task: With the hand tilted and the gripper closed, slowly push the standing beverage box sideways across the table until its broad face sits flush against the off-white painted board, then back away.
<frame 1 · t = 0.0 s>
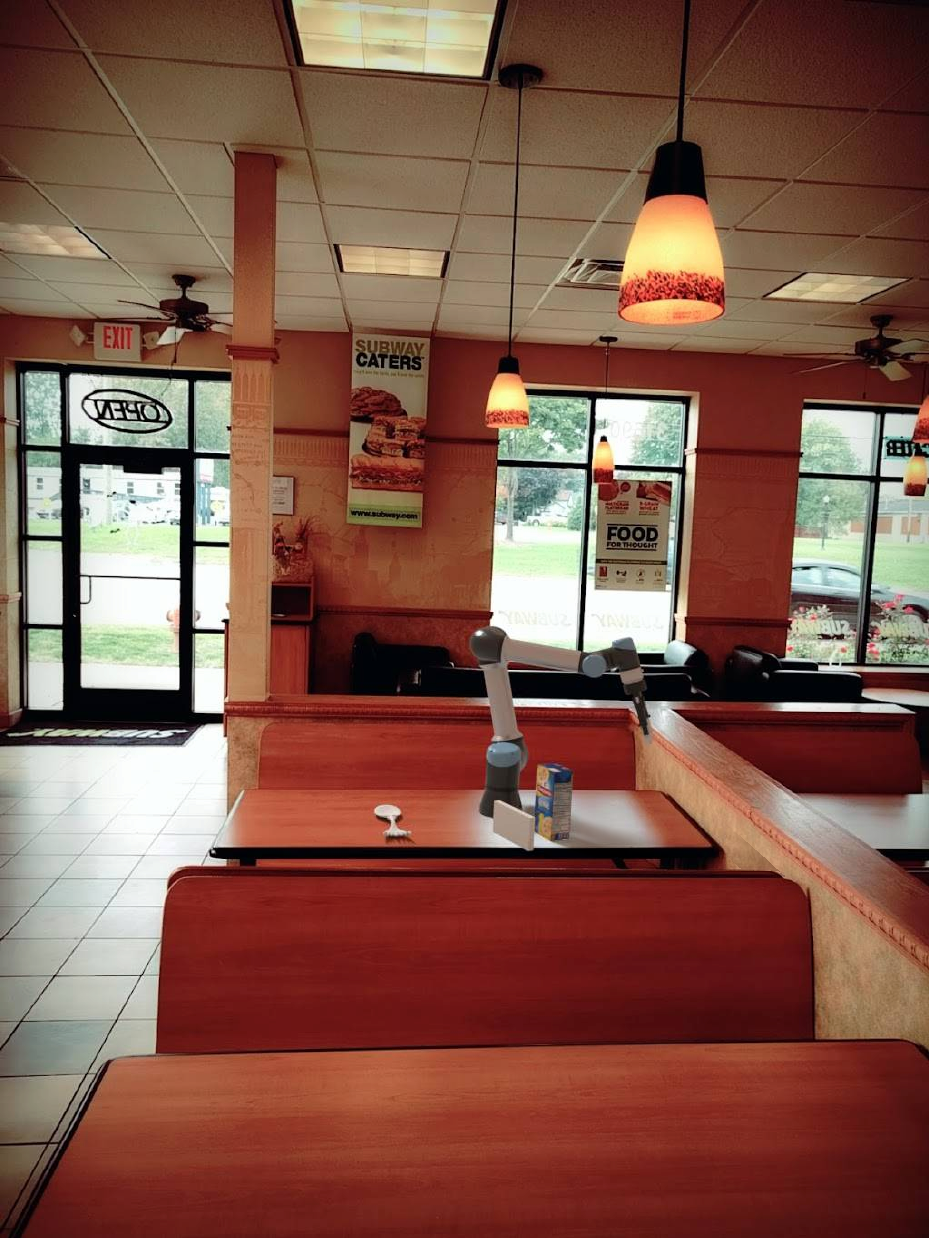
hand: (649, 740, 291), 28 cm above the table, tool tilted 20°, fingers open, 13 cm apart
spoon: (391, 826, 270), on the table
beverage box: (551, 835, 269), on the table
board: (512, 840, 261), on the table
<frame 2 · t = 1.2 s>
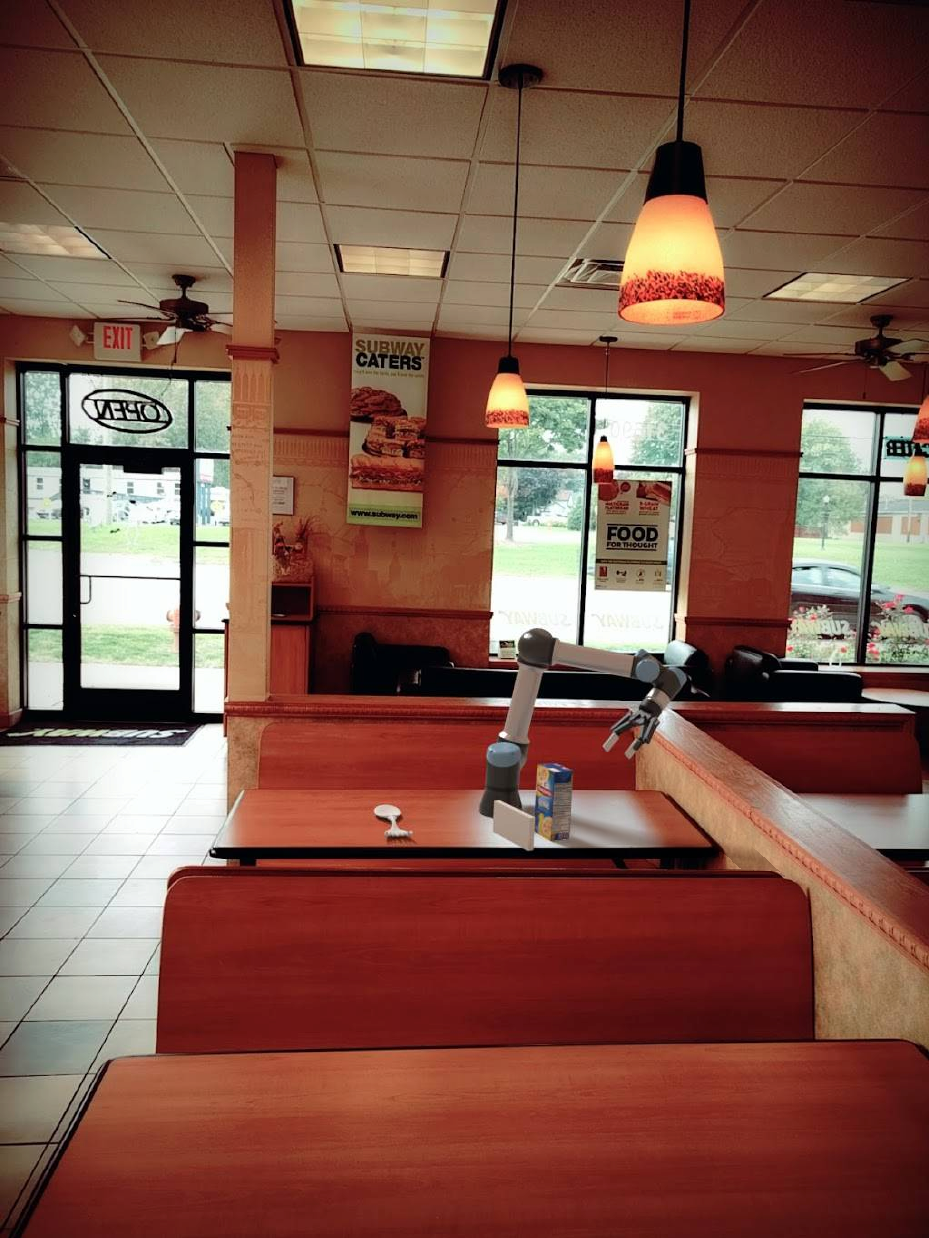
hand: (615, 752, 280), 25 cm above the table, tool tilted 45°, fingers open, 10 cm apart
nothing on the table moved.
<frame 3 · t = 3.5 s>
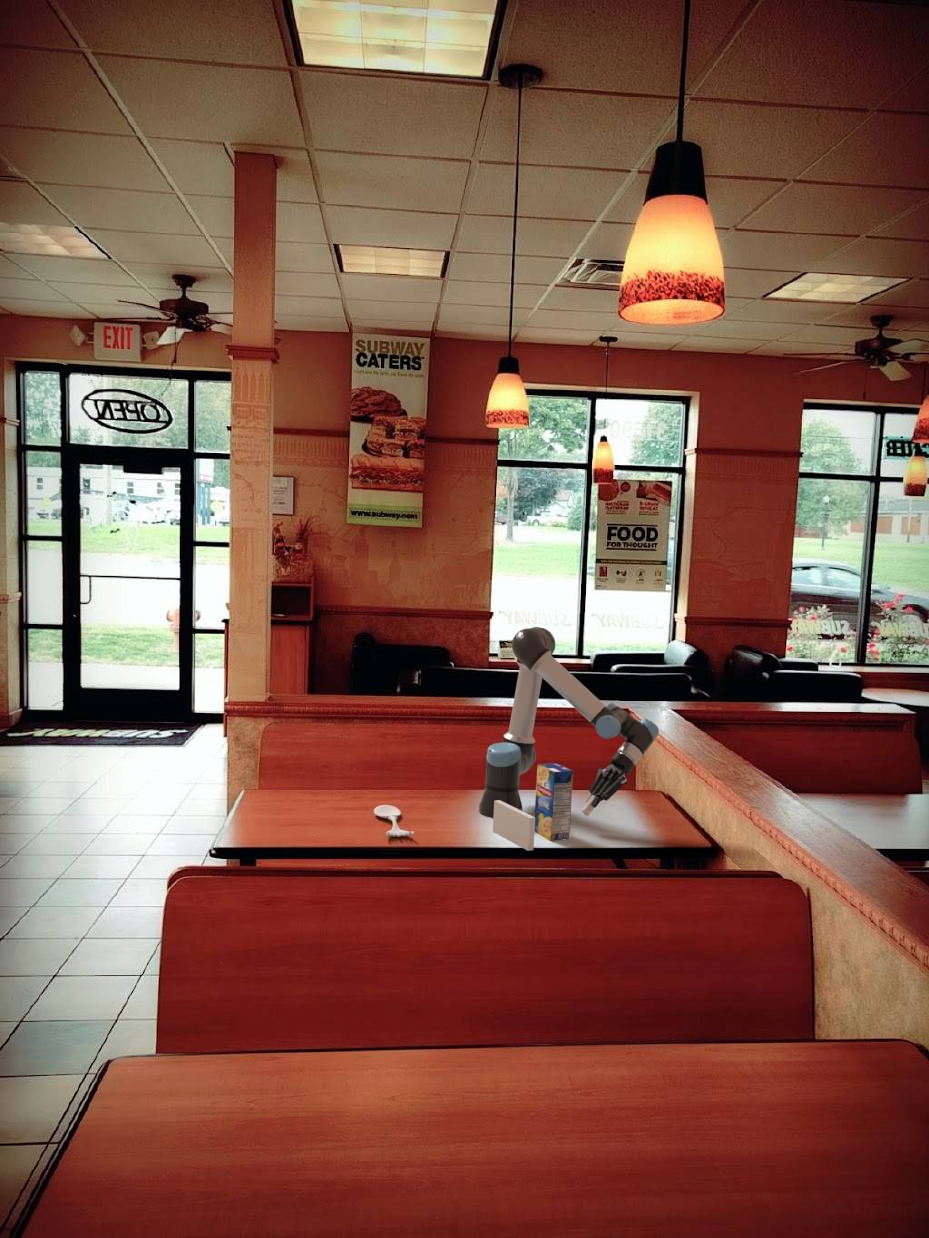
hand: (584, 812, 274), 6 cm above the table, tool tilted 45°, fingers closed
nothing on the table moved.
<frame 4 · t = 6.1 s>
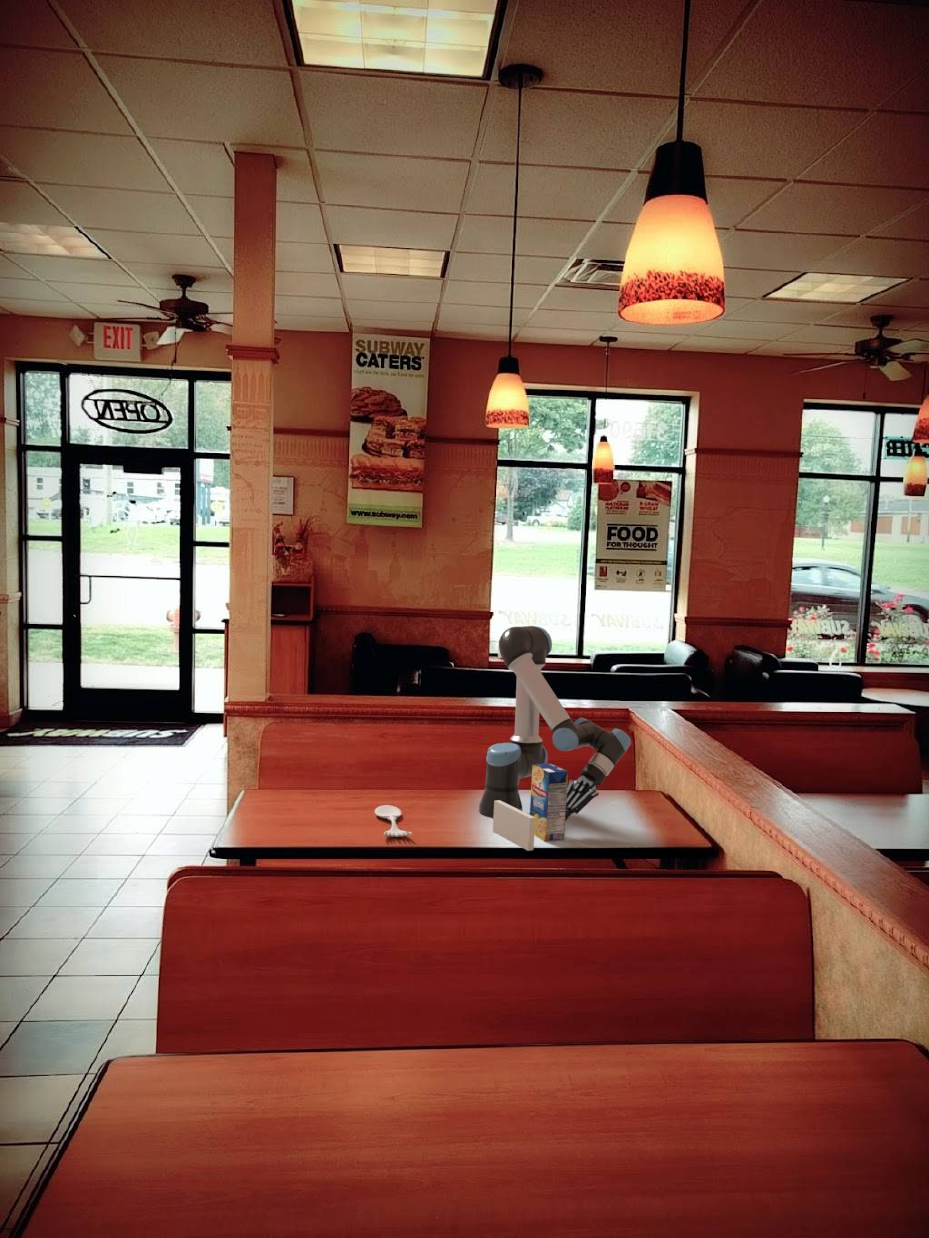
hand: (554, 826, 268), 3 cm above the table, tool tilted 45°, fingers closed
beverage box: (546, 836, 268), on the table, touching gripper
everything else where it was.
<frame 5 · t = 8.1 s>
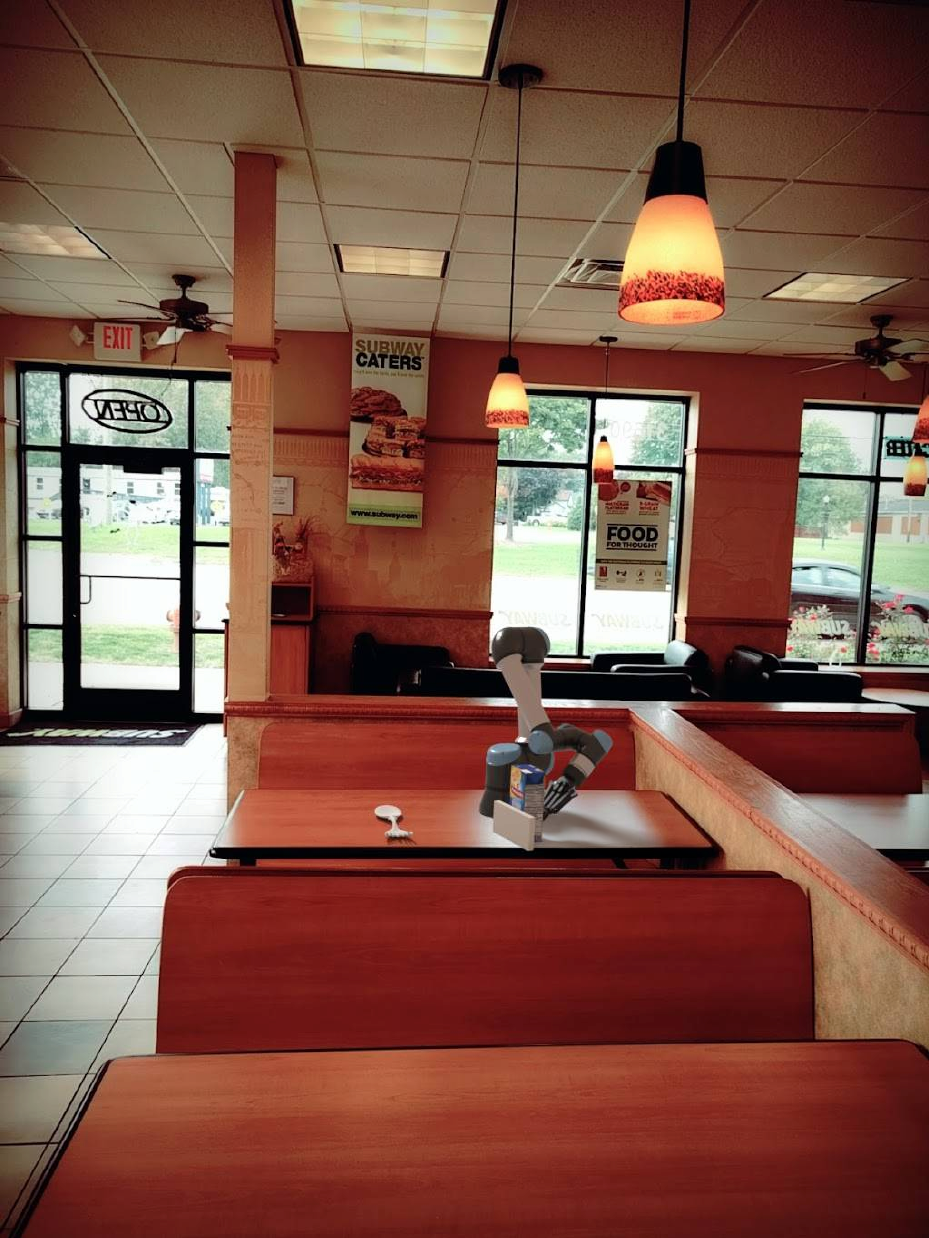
hand: (532, 826, 265), 4 cm above the table, tool tilted 45°, fingers closed
beverage box: (524, 837, 265), on the table, touching gripper
everything else where it was.
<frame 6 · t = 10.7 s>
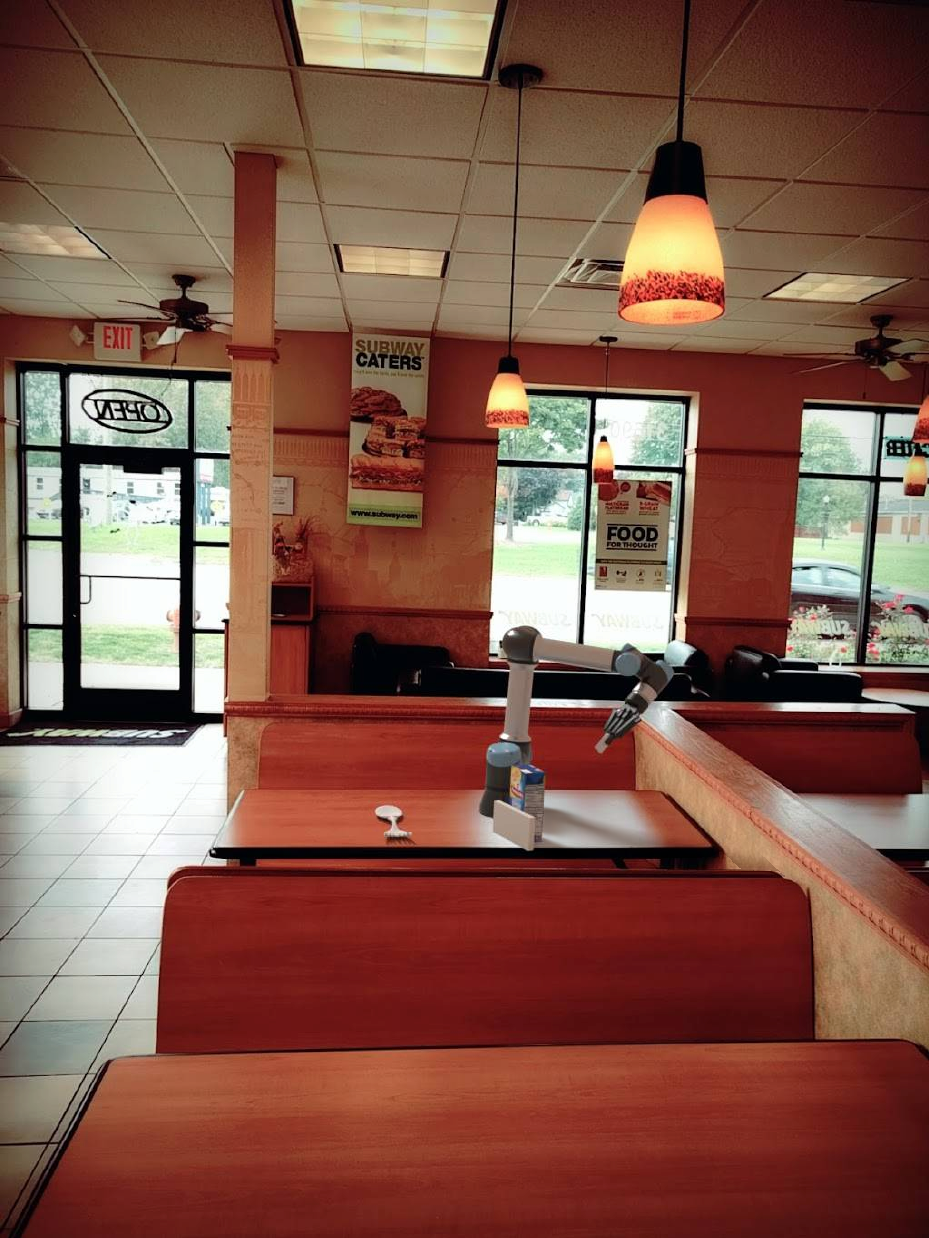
hand: (598, 750, 276), 27 cm above the table, tool tilted 45°, fingers closed
beverage box: (524, 837, 265), on the table
everything else where it was.
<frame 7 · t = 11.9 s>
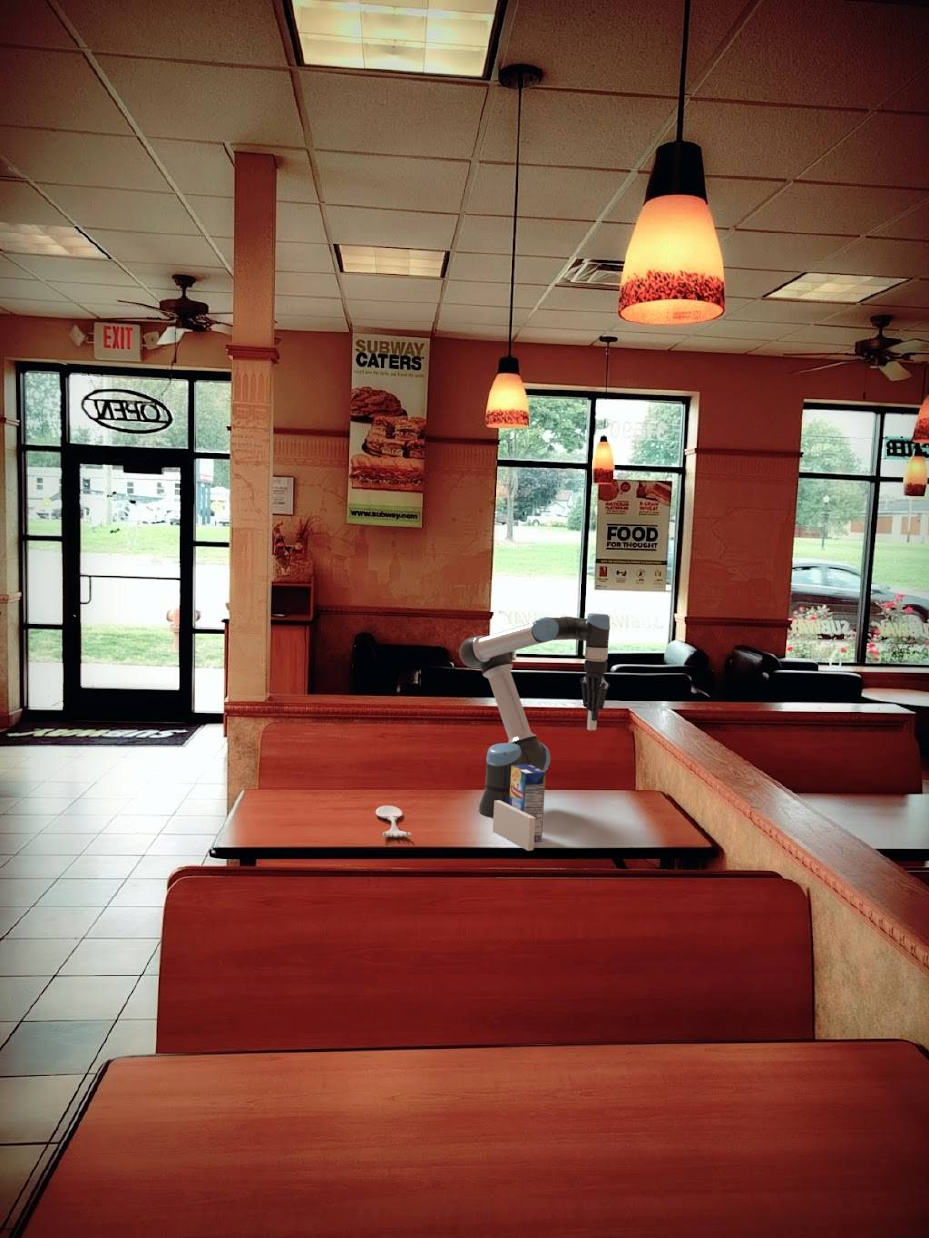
hand: (591, 729, 281), 32 cm above the table, tool pointing down, fingers closed
nothing on the table moved.
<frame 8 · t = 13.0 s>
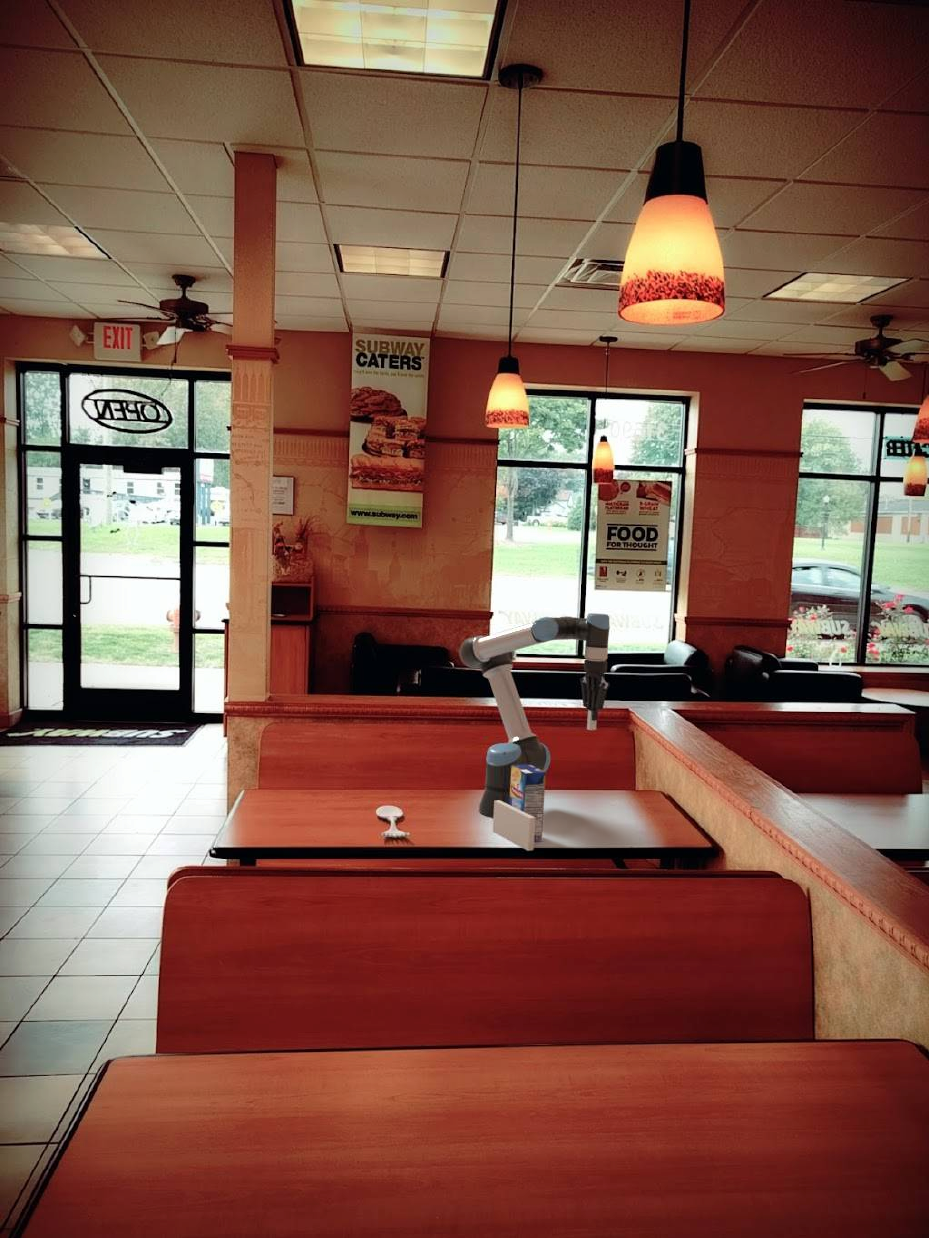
hand: (591, 729, 280), 32 cm above the table, tool pointing down, fingers closed
at the end: beverage box inside the target area on the table beside the board (1.4 cm from its centre), on the table; beverage box tilted 0° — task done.
